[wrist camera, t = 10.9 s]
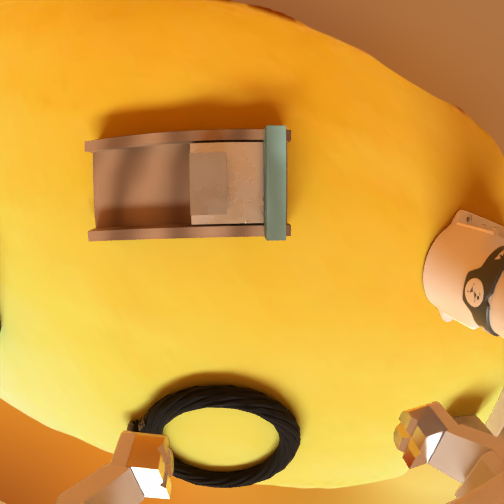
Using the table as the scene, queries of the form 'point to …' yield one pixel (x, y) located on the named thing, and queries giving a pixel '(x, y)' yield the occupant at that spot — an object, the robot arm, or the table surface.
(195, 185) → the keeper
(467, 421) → the cassette player
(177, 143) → the drawer
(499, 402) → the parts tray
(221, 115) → the table surface
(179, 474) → the cable lock
